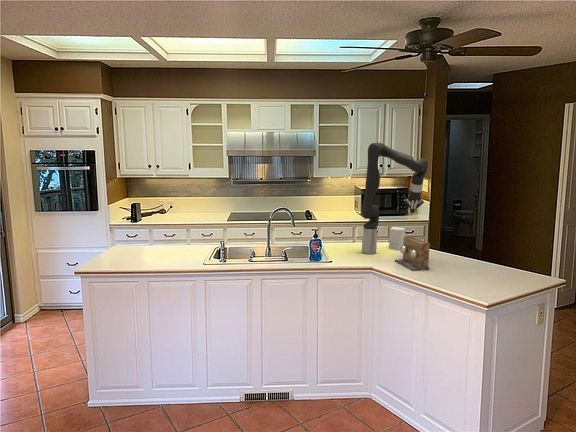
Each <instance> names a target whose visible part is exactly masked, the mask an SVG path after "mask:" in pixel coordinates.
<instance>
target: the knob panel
mask: <svg viewBox="0 0 576 432" xmlns="http://www.w3.org/2000/svg"><path fill="white" fill-rule="evenodd" d="M430 245H431V244H430V242H428V241H425V240H423V239H419V238H417V237H414V236H405V237H404V242H403V246H407V248H408V252H407V253H402V258H401V259H394V262H395V263H396V262H397V264H399V265H401V266H402V267H403V268H406V269H408V270H409V271H412V272H416V271H417V272H418V270H419V271H429V270H430V267H429V262H430V248H431V247H430ZM411 250H417V252H418V257H414V258H411V257H410V251H411Z"/></svg>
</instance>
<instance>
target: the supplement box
mask: <svg viewBox="0 0 576 432" xmlns="http://www.w3.org/2000/svg"><path fill="white" fill-rule="evenodd" d="M388 236H389V237H388V239H389V240H388V241H389V242H388V249H389V250H395V251H400V247H401V246H403V242H404V237H406V228H405V227H398V226H392V227H390V228H389V235H388Z"/></svg>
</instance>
